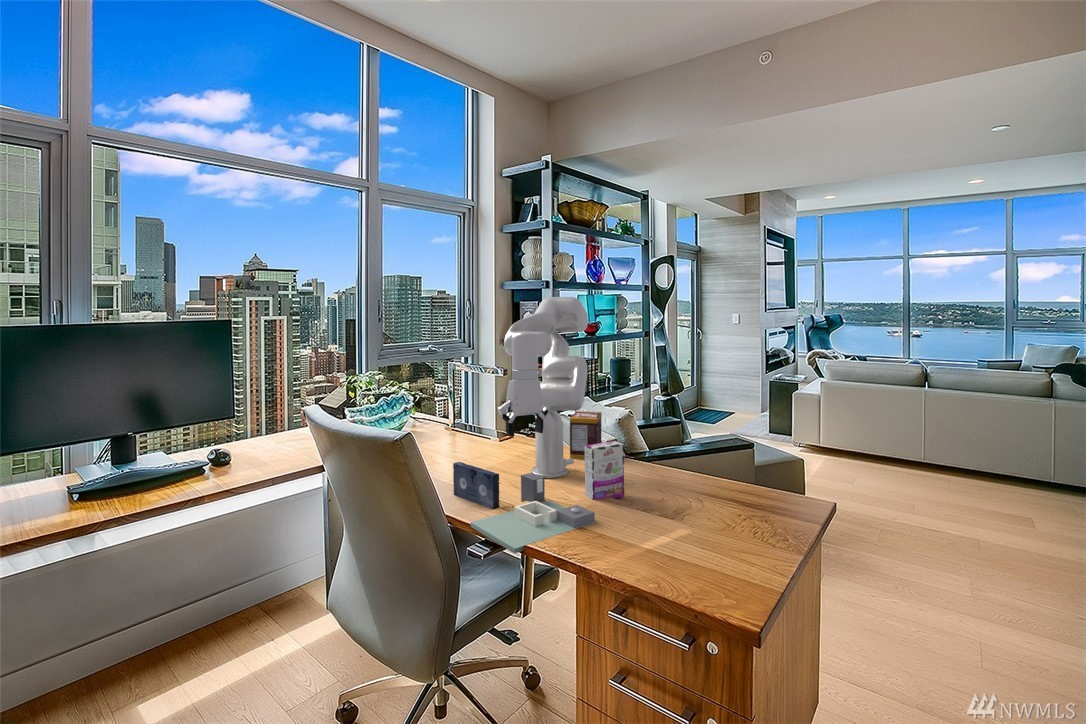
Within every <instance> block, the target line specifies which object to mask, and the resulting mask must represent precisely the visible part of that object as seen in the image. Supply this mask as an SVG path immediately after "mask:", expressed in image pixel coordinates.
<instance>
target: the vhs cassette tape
mask: <svg viewBox="0 0 1086 724" xmlns="http://www.w3.org/2000/svg"><path fill="white" fill-rule="evenodd" d="M452 469H453V470H452V471H453V479H452V480H453V496H454V497H455V496H456V497H458V498H461V499H464V500H466V501H469V502H472V503H475V504H478V505H480V506H482V507H486V508H487V509H488V508H489V509H491V510H495V509H498V508H500V482H499V481H500V474H499V473H496V472H495V471H491V470H488V469H484V468H481V467H479V466H475V465H472V464H468V463H464V462H462V461H456V462H453V464H452Z"/></svg>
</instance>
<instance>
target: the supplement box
mask: <svg viewBox="0 0 1086 724" xmlns="http://www.w3.org/2000/svg"><path fill="white" fill-rule="evenodd" d="M602 413H603V412H602V411H583V410H577V411H574V413H573V414H572V415H571V417H569V459H571V458H572V459H577V460H578V459H580V460H581V459H582V460H583V459H584V460H585V445H592V444H598V443H602Z"/></svg>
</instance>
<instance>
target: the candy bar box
mask: <svg viewBox="0 0 1086 724" xmlns="http://www.w3.org/2000/svg"><path fill="white" fill-rule="evenodd" d="M624 448H625V445H624V443H622V442H620V441H617V440H612V441H607V442H606V441H605V442H601V443H598V444H592V445H585V459H584V495H585V497H587V498H589V499H591V500H592V501H593V500H601V499H605V498H612V499H615V500H617V499H618V500H619V499H622V498H624V497H625V453H624V451H625V449H624Z"/></svg>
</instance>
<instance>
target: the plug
mask: <svg viewBox="0 0 1086 724" xmlns="http://www.w3.org/2000/svg"><path fill="white" fill-rule="evenodd" d="M545 493H546V492H545V478H544V477H542V476H539V475H537V474H534V473H531V472H528V473H525V474H521V475H520V502H522V503H524V502H528V503H530V502H533V501H537V502H540V503H542V502H545Z"/></svg>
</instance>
